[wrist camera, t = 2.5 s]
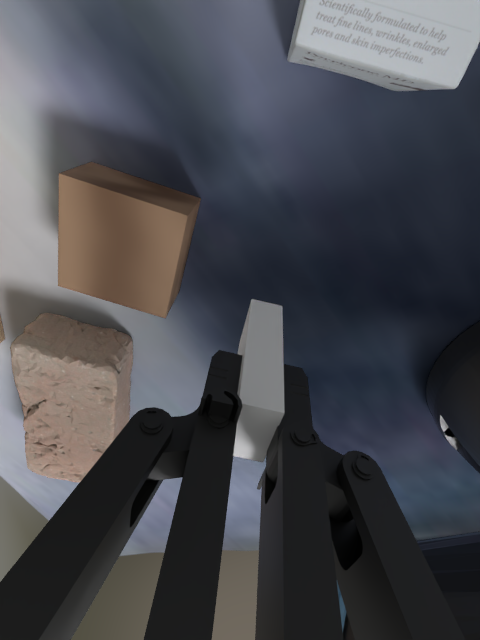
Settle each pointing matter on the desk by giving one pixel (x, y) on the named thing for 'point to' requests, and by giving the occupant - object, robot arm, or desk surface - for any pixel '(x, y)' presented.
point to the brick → (71, 393)
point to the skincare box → (389, 40)
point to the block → (123, 237)
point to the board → (1, 331)
